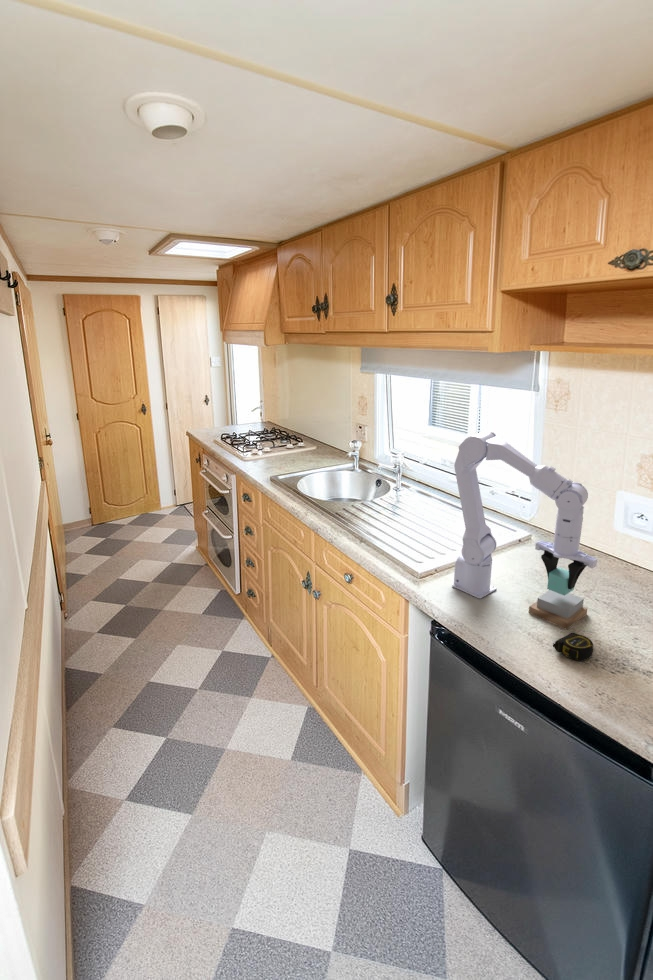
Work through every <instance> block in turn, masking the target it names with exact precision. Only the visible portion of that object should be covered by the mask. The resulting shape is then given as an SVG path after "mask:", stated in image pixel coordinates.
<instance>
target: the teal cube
mask: <svg viewBox="0 0 653 980" xmlns="http://www.w3.org/2000/svg"><path fill="white" fill-rule="evenodd" d="M568 580H569V569H565V568H563V567H562V568H561V567H559V566H557V568H556V569H555V570H553V571H551V572H549V577H548V576H547V586H546V587H547V590H551V591H554V592H556V593H559V594H562V595H564V596H565V595H566V594H568V593H571V592H572V591H574V589H575V587H574V588H572V589H568Z"/></svg>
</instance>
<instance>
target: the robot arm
mask: <svg viewBox="0 0 653 980" xmlns="http://www.w3.org/2000/svg"><path fill="white" fill-rule="evenodd" d="M484 459H485V461H496V460H497V461H502V462H503V463H506V464H507V465H509V466H510V467H512V468H514V469H515V470H517V472H520V473H522V474H523V475H525V476H527V477H528V479H529V484H530V485H531V486H532V487H534V488H535V489H537V490H538V491H540V492H541V493H543V494H544V495H545V496H547V497H549V498H550V499H551V500H553V501H554V502H555V505H556V507H557V514H556V517H555V518H556V520H555V528H554V536H553V538H554V539H553V542H550V541H545V540H538V541H536V542H535V545H534V546H535V550H537V551H543V553H542V554H541V556H540V558H541V560H542V562H543V564H544V566H545V570H546V574H547V578H548V577H549V572H551V571H553V570H555V569H556V568H558V564H559V560H560V559H566V560H567V559H568V560H570V561H573V562H571V563H568V566H567V567H568V571H569V580H568V589H572V588H574V589H575V587H576V584H577V582H578V579H579V578H580V575H581V574H582V572H584V570H585V568H586V567H588V568H590V569H594V568H595V567H597V564H598V558H597V557H593V556H591V555H589V554H587V553H585V552H583V551H581V550H580V544H581V535H582V529H583V522H584V520H583V519H584V508H585V507H584V505H585V504H586V503H587V501H588V499H589V492H588V490H587V488H586V487H585V486H583V485H582V483H580V482H576V481H575V482H574V481H573V480H572V479H567V478H565V477H564V476H563V475H561V474H560V473H558V472H557V471H556V467H554V466H552V465H551V466H550V467H549V466H548V465H546V464H545V465H537V464H536V463H534V462H533V461H532V460H530V458H528V457H526V456H525V455H524V454H522V453H521V452H520V451H519V450H518V449H516V448H515V447H514V446H512V445H511V444H509V443H508V442H507V441H506V440H505V439H504V438H503V437H502V436H500V435H499V434H498V435H497V434H496V433H495V432H494V431H492V430H488V429H487V430H486V429H485V430H484V429H483V430H482V431H480V432H478V433H476V434H473V435H472V436H467V437H466V438H465V439H464V440H463V441H462V442H461V443H460V444H459V445H458V453H457V456H456V459H455V461H454V464H453V465H454V466H453V467H454V473H455V479H456V483H457V488H458V495H459V500H460V505H461V511H462V517H463V522H464V527H465V530H464V532H463V533H464V534H463V536H462V549H461V554H460V555H459V556H458V557H457V559H456V561H455V564H454V574H453V575H454V576H453V583H452V584H451V586H452V587H453V588H455V589H457V590H458V591H459V590H460V591H461V592H463V593H466V594H468V595H470V596H473V597H475V598H477V599H482V598H484V597H485V596H487V595H489V594H491V593H493V592H494V591H496V590H497V587H496V586H494V585H492V584H491V578H492V568H493V567H492V565H493V557H492V553H494V552H495V551H496V548H497V540H496V539H495V537H494V536H493V534H492V530H491V528H490V527H489V526H488V525H487V524H486V518H485V512H484V507H483V502H482V500H483V499H482V495H481V491H480V490H481V488H480V483H479V478H478V474H477V473H478V472H477V467H478V466H479V465H480V464H481V463H482V462H483V461H484Z"/></svg>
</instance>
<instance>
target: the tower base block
mask: <svg viewBox="0 0 653 980" xmlns="http://www.w3.org/2000/svg"><path fill="white" fill-rule="evenodd" d="M528 613H529V614H531V615H534V616H536V617H538V618H540V619H542V620H544V621H546V622H549V623H551V624H554V625H556V626H558V627H560V628H563V629H565V630H568V629H569V628H571V627H572V626H573V625H575V624H576V623H577V622H579V621H580V620H581V619H583V618H584V617H586V616H587V614H588V607H586V606H583V607H582V608H581V609H580V610H579V611H578V612H576V613H575V614H574V615H573V616H571V617H570V618H569V619H566V618H563V617H561V616H558V615H556V614H553V613H551V612H549V611H546V610H544V609H541V608H539V607H537V601H536V602H534V603H533V604H531V605H529V607H528Z"/></svg>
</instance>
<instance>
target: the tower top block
mask: <svg viewBox="0 0 653 980" xmlns="http://www.w3.org/2000/svg"><path fill="white" fill-rule="evenodd" d="M536 600H537V601H536V602H537V607H539V608H541V609H544V610H546V611H549V612H551V613H553V614H556V615H558V616H561V617H563V618H566V619H569V618H570V617H571V616H573V615H574V614H575V613H576V612H578V611H579V610H580V609H581V608H582V607H584V602H585V601H584V600H585V599H584V597H580V596H578V595H575V594H572V593H571V592H569V593H568V594H566V595H565V596H564V595H562V594H559V593H556V592H554V591H551V590H549V589H547V591H546V592H545V593H542V594H541V595H540V596H538V597H537V599H536Z"/></svg>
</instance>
